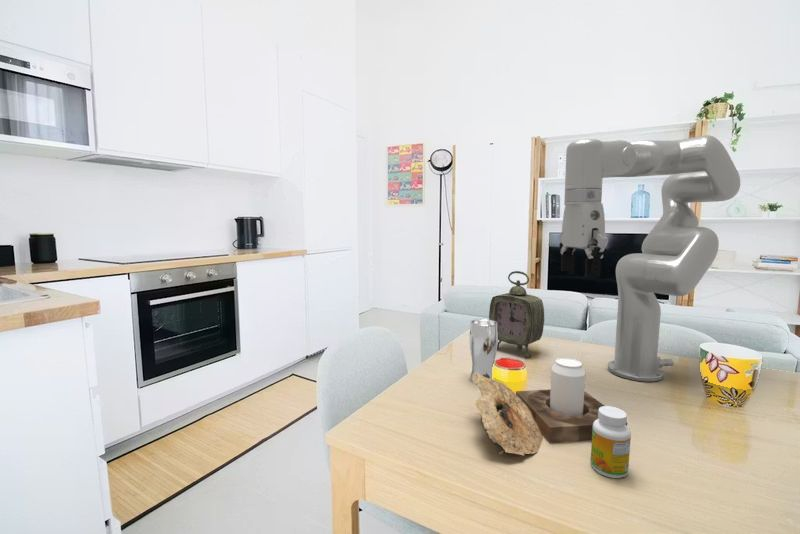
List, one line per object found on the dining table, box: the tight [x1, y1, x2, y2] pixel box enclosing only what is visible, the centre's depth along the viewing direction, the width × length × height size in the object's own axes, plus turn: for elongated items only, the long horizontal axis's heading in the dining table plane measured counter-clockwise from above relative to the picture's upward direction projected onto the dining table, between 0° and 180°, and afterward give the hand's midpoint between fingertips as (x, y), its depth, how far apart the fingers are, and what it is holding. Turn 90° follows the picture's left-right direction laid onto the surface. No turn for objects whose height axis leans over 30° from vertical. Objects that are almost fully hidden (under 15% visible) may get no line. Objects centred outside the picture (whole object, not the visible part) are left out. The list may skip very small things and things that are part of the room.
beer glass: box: [469, 318, 499, 383], centre depth 96 cm, size 7×7×15 cm
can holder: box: [515, 388, 628, 444], centre depth 77 cm, size 15×15×3 cm
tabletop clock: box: [488, 270, 545, 358], centre depth 117 cm, size 14×9×25 cm, turn 43°
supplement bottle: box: [590, 405, 632, 479], centre depth 62 cm, size 5×5×10 cm
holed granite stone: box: [472, 373, 544, 457], centre depth 73 cm, size 18×14×8 cm
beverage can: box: [550, 357, 586, 416], centre depth 77 cm, size 6×6×12 cm
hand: (579, 273), depth 88 cm, fingers open, 9 cm apart
